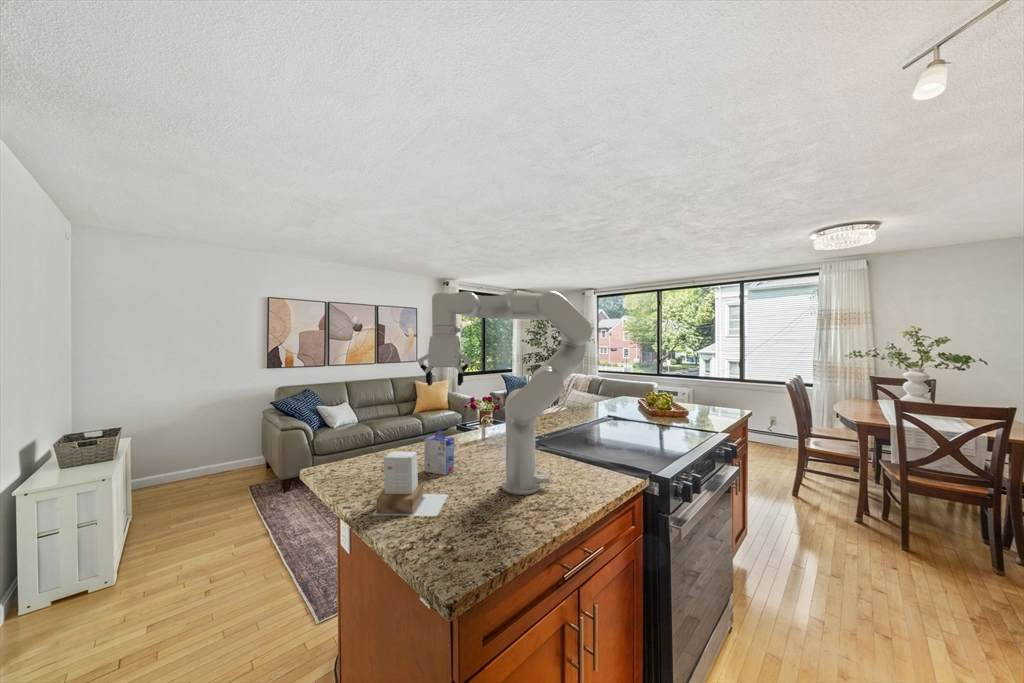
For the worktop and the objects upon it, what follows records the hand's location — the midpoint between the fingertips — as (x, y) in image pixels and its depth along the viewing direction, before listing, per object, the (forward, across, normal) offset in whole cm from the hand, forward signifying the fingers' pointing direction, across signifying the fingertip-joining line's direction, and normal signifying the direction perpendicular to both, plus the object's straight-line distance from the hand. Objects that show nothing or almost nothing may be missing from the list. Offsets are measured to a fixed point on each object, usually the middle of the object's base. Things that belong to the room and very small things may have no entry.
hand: (444, 385), depth 119 cm
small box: (+29, +10, +12) cm, 33 cm away
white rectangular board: (+33, +7, +12) cm, 36 cm away
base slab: (+33, +10, +13) cm, 37 cm away
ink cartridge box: (+34, +6, -16) cm, 38 cm away
